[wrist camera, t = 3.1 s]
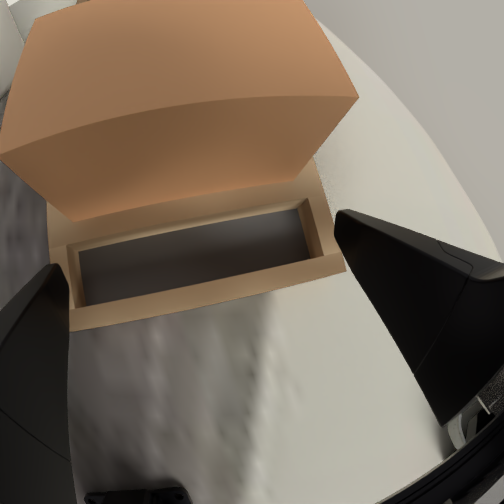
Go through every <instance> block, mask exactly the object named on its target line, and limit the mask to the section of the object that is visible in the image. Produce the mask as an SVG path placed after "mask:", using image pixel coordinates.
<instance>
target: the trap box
mask: <svg viewBox="0 0 504 504" xmlns="http://www.w3.org/2000/svg"><path fill="white" fill-rule="evenodd" d="M87 1H90V0H77V3H76V4H80V3H83V2H87ZM47 229H48V245H49V256H50V264H52V263H58V264H59V265H60V266H61V268H62V271H63V273H64V275H65V277H66V280H67V282H68V284H69V289H70V297H69V322H70V332H74V331H80V330H86V329H91V328H97V327H103V326H108V325H114V324H119V323H124V322H130V321H135V320H140V319H145V318H150V317H155V316H160V315H165V314H170V313H175V312H179V311H184V310H189V309H194V308H198V307H203V306H207V305H212V304H216V303H221V302H225V301H230V300H234V299H238V298H243V297H247V296H251V295H255V294H260V293H264V292H268V291H272V290H276V289H280V288H284V287H288V286H292V285H296V284H300V283H304V282H308V281H312V280H316V279H320V278H324V277H327V276H331V275H335V274H338V273H342V272H346V267H345V263H344V259H343V255H342V252H341V250H340V248H339V246H338V244H337V242H336V240H335V238H334V223H333V219H332V216H331V213H330V209H329V206H328V203H327V199H326V196H325V193H324V190H323V186H322V183H321V180H320V177H319V174H318V171H317V168H316V165H315V162H314V159H313V156H312V158H311V159H310V160H309V161H308V163H307V164H306V165H305V167H304V168H303V169H302V170H301V172H300V173H299V174H298V176H297V177H296V178H295V179H294V181H287V182H280V183H273V184H266V185H259V186H252V187H246V188H240V189H233V190H227V191H221V192H215V193H210V194H204V195H198V196H193V197H187V198H182V199H177V200H172V201H167V202H161V203H157V204H152V205H147V206H142V207H137V208H133V209H128V210H124V211H119V212H115V213H110V214H106V215H102V216H98V217H93V218H89V219H85V220H81V221H77V222H72V221H71V220H70V219H68V218H67V217H66V216H65V215H63V214H62V213H61V212H60V211H59V210H57V209H56V208H55V207H54V206H52V205H51V204H50V203H49V202H48V201H47Z"/></svg>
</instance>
